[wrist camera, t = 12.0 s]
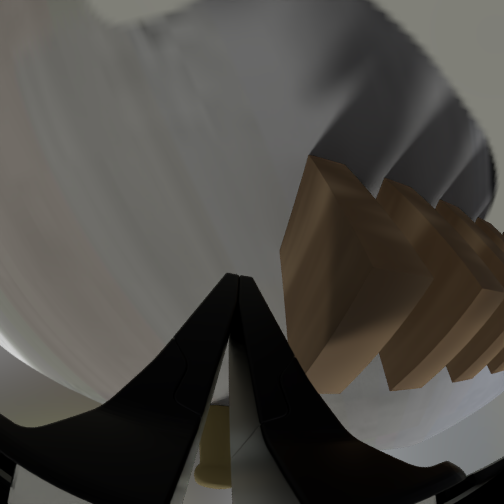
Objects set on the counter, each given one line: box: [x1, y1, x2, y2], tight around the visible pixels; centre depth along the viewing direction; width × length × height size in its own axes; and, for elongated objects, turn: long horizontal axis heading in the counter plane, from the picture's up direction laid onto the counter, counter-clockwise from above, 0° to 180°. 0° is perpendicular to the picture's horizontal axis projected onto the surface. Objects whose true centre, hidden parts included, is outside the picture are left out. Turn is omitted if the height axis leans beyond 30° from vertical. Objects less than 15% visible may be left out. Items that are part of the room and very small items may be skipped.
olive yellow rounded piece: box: [194, 405, 232, 489], centre depth 27 cm, size 6×6×11 cm
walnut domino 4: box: [475, 217, 504, 374], centre depth 12 cm, size 2×6×9 cm, turn 168°
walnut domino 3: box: [435, 199, 504, 383], centre depth 12 cm, size 2×6×9 cm, turn 169°
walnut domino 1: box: [280, 155, 434, 394], centre depth 11 cm, size 2×6×9 cm, turn 168°
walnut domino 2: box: [376, 178, 504, 391], centre depth 11 cm, size 2×6×9 cm, turn 169°
